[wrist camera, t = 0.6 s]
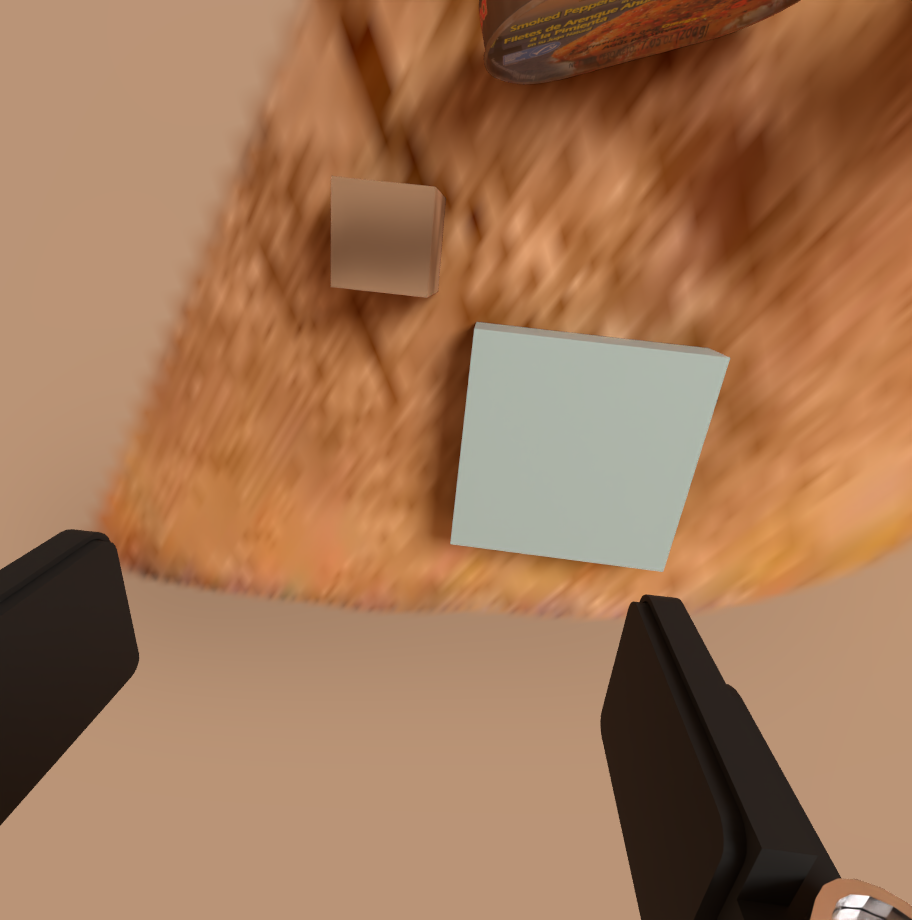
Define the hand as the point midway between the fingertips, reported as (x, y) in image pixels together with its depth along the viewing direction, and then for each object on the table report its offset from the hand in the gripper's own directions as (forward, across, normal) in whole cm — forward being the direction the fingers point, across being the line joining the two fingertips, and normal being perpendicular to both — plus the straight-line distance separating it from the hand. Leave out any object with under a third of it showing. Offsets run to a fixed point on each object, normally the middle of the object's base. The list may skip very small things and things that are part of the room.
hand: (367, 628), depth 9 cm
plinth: (+24, -8, +4) cm, 26 cm away
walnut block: (+24, +4, -7) cm, 26 cm away
